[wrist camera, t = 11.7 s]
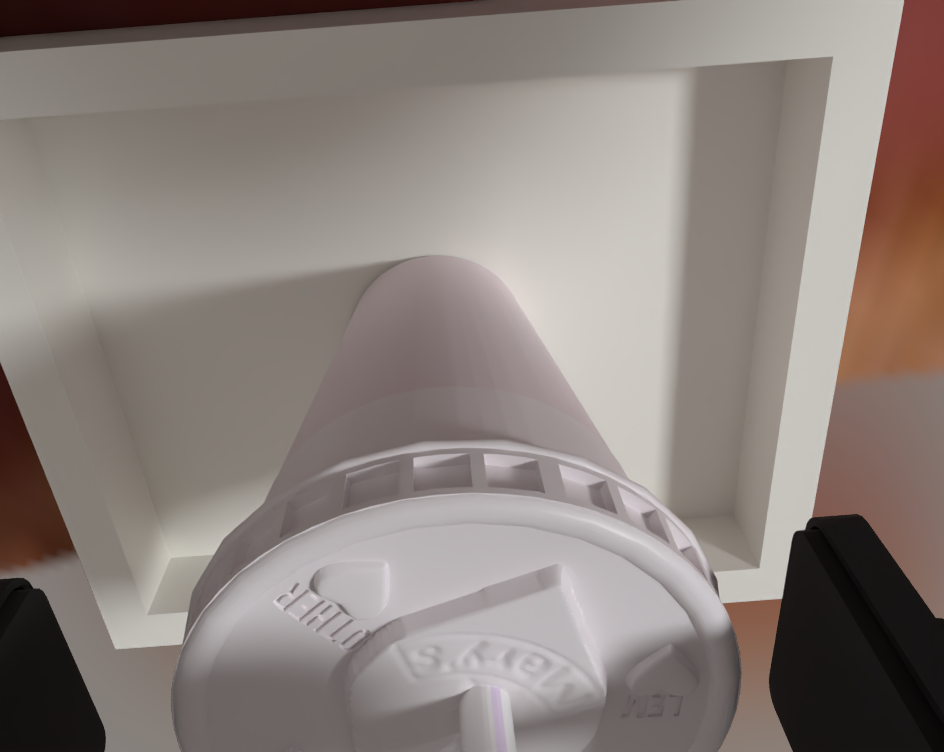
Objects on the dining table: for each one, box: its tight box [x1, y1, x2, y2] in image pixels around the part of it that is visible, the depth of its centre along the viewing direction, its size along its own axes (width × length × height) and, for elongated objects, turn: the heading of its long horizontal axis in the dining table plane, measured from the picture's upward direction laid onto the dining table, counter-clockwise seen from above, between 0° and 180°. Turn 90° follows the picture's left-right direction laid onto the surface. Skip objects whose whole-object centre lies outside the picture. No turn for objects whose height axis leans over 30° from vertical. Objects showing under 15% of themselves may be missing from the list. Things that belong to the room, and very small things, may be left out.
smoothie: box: [171, 256, 741, 752], centre depth 11 cm, size 6×6×14 cm
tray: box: [0, 0, 904, 649], centre depth 17 cm, size 16×13×2 cm
